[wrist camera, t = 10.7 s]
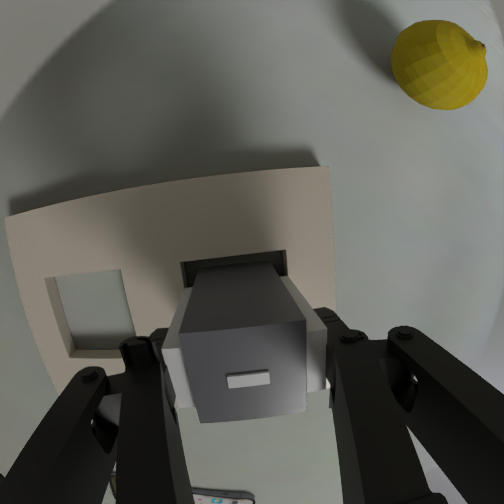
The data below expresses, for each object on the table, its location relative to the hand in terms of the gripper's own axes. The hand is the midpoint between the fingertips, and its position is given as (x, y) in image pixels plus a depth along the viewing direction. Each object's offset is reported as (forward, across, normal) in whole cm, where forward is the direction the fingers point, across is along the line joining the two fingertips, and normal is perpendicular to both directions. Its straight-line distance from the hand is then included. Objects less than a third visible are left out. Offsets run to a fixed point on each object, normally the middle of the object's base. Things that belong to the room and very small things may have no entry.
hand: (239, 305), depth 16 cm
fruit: (+1, +12, +13) cm, 18 cm away
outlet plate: (+1, -4, 0) cm, 5 cm away
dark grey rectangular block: (+1, 0, 0) cm, 1 cm away
